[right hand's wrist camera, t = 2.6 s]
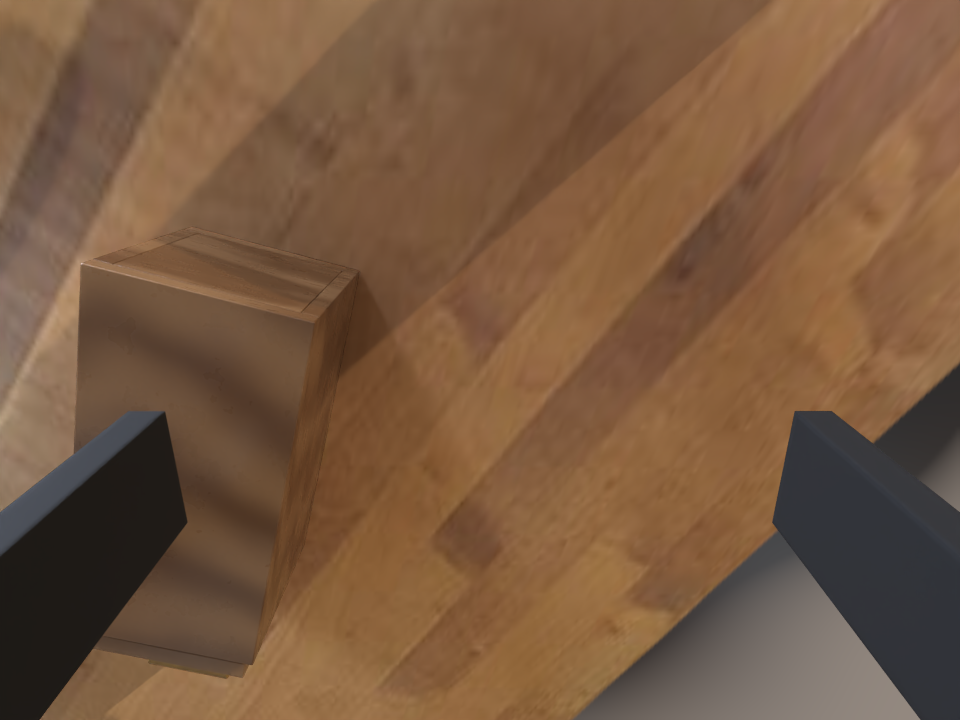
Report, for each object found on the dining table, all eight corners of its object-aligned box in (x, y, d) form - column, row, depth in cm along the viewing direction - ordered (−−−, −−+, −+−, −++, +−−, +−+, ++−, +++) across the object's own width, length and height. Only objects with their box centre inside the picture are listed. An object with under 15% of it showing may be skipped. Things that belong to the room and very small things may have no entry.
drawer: (276, 632, 47) (231, 743, 39) (155, 607, 46) (82, 715, 38) (337, 324, 38) (296, 379, 30) (188, 286, 37) (102, 332, 29)
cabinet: (304, 544, 45) (252, 666, 35) (162, 513, 44) (66, 629, 34) (360, 270, 38) (315, 322, 28) (191, 226, 37) (79, 262, 27)
